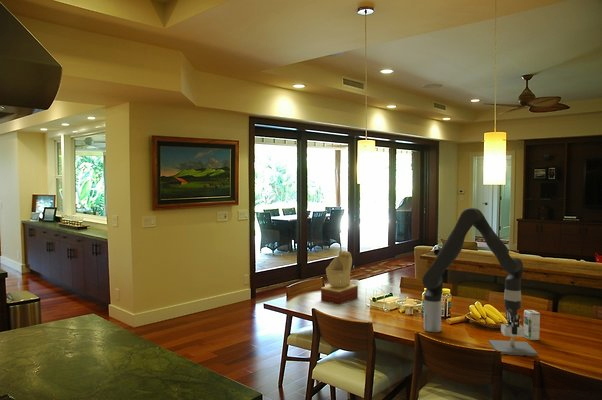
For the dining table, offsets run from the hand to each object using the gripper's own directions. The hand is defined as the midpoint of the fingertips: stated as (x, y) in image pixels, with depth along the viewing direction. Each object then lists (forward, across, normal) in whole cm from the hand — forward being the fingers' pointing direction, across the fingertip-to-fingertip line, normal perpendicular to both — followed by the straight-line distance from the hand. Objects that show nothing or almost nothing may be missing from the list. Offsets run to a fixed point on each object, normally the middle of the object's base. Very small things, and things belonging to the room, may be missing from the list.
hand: (512, 331), depth 212 cm
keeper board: (+9, 0, 0) cm, 9 cm away
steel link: (+1, 0, 0) cm, 1 cm away
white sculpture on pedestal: (+9, -84, -91) cm, 124 cm away
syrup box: (+9, -18, +15) cm, 25 cm away
